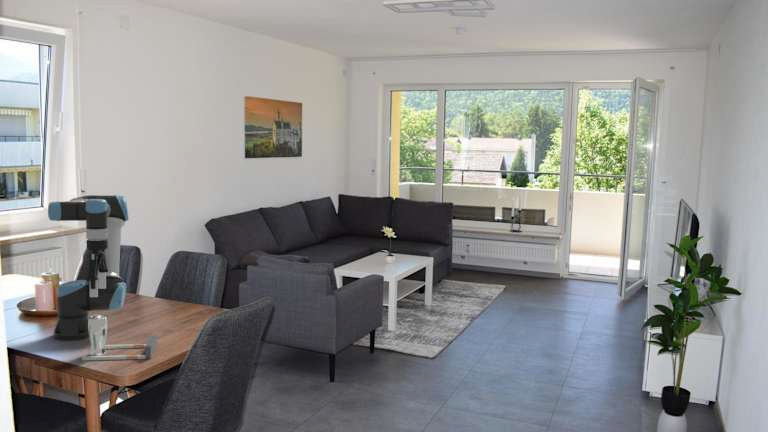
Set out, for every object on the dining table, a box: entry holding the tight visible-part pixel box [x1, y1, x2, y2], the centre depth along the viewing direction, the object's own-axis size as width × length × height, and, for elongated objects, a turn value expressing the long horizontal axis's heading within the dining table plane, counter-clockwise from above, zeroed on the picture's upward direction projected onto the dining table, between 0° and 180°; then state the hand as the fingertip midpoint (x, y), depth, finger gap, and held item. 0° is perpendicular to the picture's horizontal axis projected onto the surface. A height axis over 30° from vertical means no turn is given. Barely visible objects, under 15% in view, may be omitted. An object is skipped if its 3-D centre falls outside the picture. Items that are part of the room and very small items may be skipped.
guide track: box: [81, 334, 158, 362], centre depth 253 cm, size 25×14×5 cm, turn 101°
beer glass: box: [88, 314, 108, 356], centre depth 251 cm, size 7×7×15 cm
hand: (98, 292), depth 249 cm, fingers open, 13 cm apart
